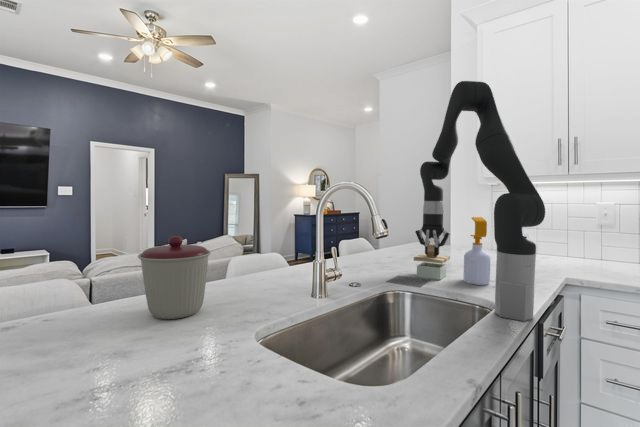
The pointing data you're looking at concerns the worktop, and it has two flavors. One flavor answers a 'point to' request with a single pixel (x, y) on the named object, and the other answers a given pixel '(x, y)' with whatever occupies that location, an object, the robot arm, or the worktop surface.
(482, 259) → the soap bottle
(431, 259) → the lid
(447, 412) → the worktop surface
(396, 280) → the mat
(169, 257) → the canister
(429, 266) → the pale green open box
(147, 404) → the worktop surface
